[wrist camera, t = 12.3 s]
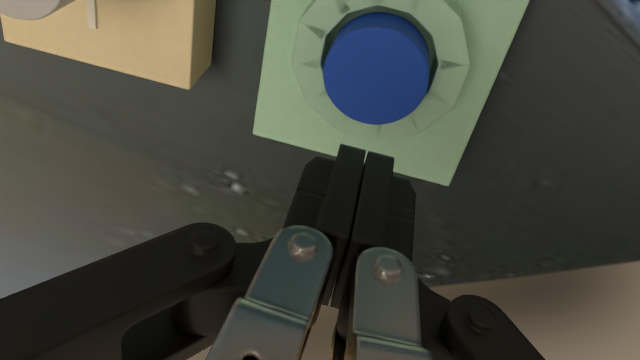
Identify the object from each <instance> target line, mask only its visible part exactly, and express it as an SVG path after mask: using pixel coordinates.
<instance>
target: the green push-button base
mask: <svg viewBox="0 0 640 360" xmlns="http://www.w3.org/2000/svg"><path fill="white" fill-rule="evenodd" d="M529 1H530V0H271V6H270V13H269V20H268V27H267V34H266V41H265V48H264V55H263V63H262V70H261V77H260V84H259V91H258V98H257V105H256V112H255V120H254V127H253V134H254V135H257V136H261V137H265V138H269V139H272V140H276V141H280V142H284V143H287V144H291V145H295V146H299V147H302V148H306V149H310V150H314V151H317V152H321V153H325V154H329V155H332V156H336V157H337V154H338V150H339V147H340V143H341V144H345V145H348V146H352V147H356V148H360V149H364V150H366V154H365V159H366V156H367V153H368V151H372V152H375V153H379V154H383V155H387V156H391V157H394V168H393V172H396V173H400V174H404V175H408V176H411V177H415V178H419V179H423V180H426V181H430V182H434V183H438V184H441V185H445V186H449V184H450V182H451V180H452V178H453V175H454V173H455V171H456V168H457V166H458V164H459V162H460V159H461V157H462V155H463V152H464V150H465V148H466V145H467V143H468V141H469V139H470V136H471V134H472V132H473V129H474V127H475V125H476V123H477V120H478V118H479V116H480V113H481V111H482V109H483V107H484V104H485V102H486V100H487V97H488V95H489V93H490V90H491V88H492V86H493V84H494V81H495V79H496V77H497V74H498V72H499V70H500V68H501V65H502V63H503V61H504V58H505V56H506V54H507V51H508V49H509V47H510V45H511V42H512V40H513V38H514V35H515V33H516V31H517V29H518V26H519V24H520V22H521V19H522V17H523V15H524V13H525V10H526V8H527V6H528V3H529ZM371 12H387V13H392V14H395V15H398V16H401V17H403V18H405V19H406V20H408V21H409V22H411V23H412V24H413V25H414V26H415V27H416V28H417V29H418V30H419V31H420V32H421V34H422V35H423V37H424V39H425V41H426V43H427V46H428V50H429V60H430V63H429V83H428V88H427V92H426V94H425V96H424V98H423V100H422V101H421V103H420V104H419V105H418V107H417V108H416V109H415V110H414V111H413V112H412V113H410V114H409V115H407V116H406V117H404V118H402V119H400V120H398V121H395V122H392V123H389V124H382V125H373V124H366V123H361V122H358V121H356V120H353V119H351V118H349V117H348V116H346V115H345V114H343V113H342V112H341V111H340V110H339V109H338V108H337V107H336V106H335V105H334V104H333V103H332V101H331V100H330V98H329V96H328V94H327V92H326V89H325V86H324V80H323V68H324V63H325V60H326V57H327V55H328V52H329V50H330V48H331V45H332V43H333V41H334V38H335V37H336V35H337V33H338V32H339V31H340V29H341V28H342V27H343V26H344V25H345V24H346V23H348V22H349V21H351V20H352V19H354V18H356V17H358V16H360V15H363V14H366V13H371ZM365 159H364V163H365Z"/></svg>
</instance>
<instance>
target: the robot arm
mask: <svg viewBox="0 0 640 360" xmlns="http://www.w3.org/2000/svg"><path fill="white" fill-rule="evenodd" d="M365 154H366V150H364V149H360V148H356V147H352V146H348V145H345V144H341V143H340V147H339V150H338V154H337V158H336V161H333V160H329V159H325V158H322V157H318V156H317V157H315V158H314V159H313V160H311V161H310V162H309V163H308V164H306V165H305V168H304V170H303V173H302V176H301V179H300V182H299V184H298V187H297V190H296V193H295V196H294V198H293V201H292V204H291V207H290V210H289V212H288V215H287V218H286V221H285V223H284V226H283V228H282V229H281V230H280V231H278V232H277V233H276V234H275V236H274V237H273V238H271V239H269V240H266V241H263V242H258V243H236V242H235V239H234V237H233V236H232V235H231V233H230V232H228V231H227V230H226V229H224V228H223V227H221V226H218V225H215V224H211V223H194V224H190V225H186V226H184V227H181V228H179V229H176V230H174V231H171V232H169V233H166V234H164V235H161V236H159V237H156V238H154V239H151V240H148V241H146V242H143V243H141V244H138V245H136V246H133V247H131V248H128V249H126V250H123V251H121V252H118V253H116V254H113V255H110V256H108V257H105V258H103V259H100V260H98V261H95V262H93V263H90V264H88V265H85V266H83V267H80V268H78V269H75V270H72V271H70V272H67V273H65V274H62V275H60V276H57V277H55V278H52V279H50V280H47V281H45V282H42V283H40V284H37V285H34V286H32V287H29V288H27V289H24V290H22V291H19V292H17V293H14V294H12V295H9V296H7V297H4V298H2V299H0V360H186V359H188V358H190V357H192V356H194V355H195V354H197V353H199V352H201V351H202V350H204V349H206V348H208V347H209V346H211V345H212V347H211V349H210V351H209V353H208V355H207V357H206V359H205V360H301V358H302V355H303V352H304V349H305V346H306V343H307V340H308V337H309V334H310V331H311V328H312V326H313V325H314V324H315V322H316V320H317V317H318V314H319V310H320V307H321V304H322V305H326V306H327V305H328V302H329V299H330V296H331V293H332V290H333V287H334V291H333V296H332V300H331V305H330V306H331V307H335V308H338V309H339V313H338V319H337V322H336V326H335V328H334V331H333V335H332V342H331V351H330V360H545V359H544V358H543V357H542V355H541V354H540V353H539V352H538V351H537V350H536V349H535V348H534V346H533V345H532V344H531V343H530V342H529V341H528V339H527V338H526V337H525V336H524V335H523V334H522V333H521V331H520V330H519V329H518V328H517V327H516V326H515V325H514V323H513V322H512V321H511V320H510V319H509V318H508V317H507V315H506V314H505V313H504V312H503V311H502V310H501V309H500V308H499V307H498V306H496V305H495V304H494V303H492V302H491V301H489V300H487V299H485V298H482V297H479V296H475V295H462V296H459V297H457V298H455V299H454V300H452V302H451V301H450V300H448V299H446V298H444V297H442V296H441V295H439V294H437V293H435V292H434V291H432V290H430V289H429V288H428V287H427V286H425V285H424V284H423V283H422V282H421V280H420V279H419V278H418V276H417V271H416V268H415V267H414V265H413V263H412V253H413V235H414V218H415V200H416V194H415V192H414V190H413V188H412V186H411V184H410V182H409V180H405V179H402V178H398V177H394V176H393V168H394V157H391V156H387V155H383V154H379V153H375V152H372V151H368V153H367V156H366V159H365ZM364 159H365V163H364ZM363 164H364V166H363ZM335 280H336V281H335ZM334 283H335V286H334Z"/></svg>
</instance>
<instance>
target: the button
mask: <svg viewBox="0 0 640 360" xmlns="http://www.w3.org/2000/svg"><path fill="white" fill-rule="evenodd" d="M429 63H430V60H429V50H428V46H427V43H426V41H425V39H424V37H423V35H422V34H421V32H420V31H419V30H418V29H417V28H416V27H415V26H414V25H413V24H412V23H411V22H409V21H408V20H406V19H405V18H403V17H401V16H398V15H395V14H392V13H387V12H371V13H366V14H363V15H360V16H358V17H356V18H354V19H352V20H351V21H349V22H348V23H346V24H345V25H344V26H343V27H342V28H341V29H340V31H339V32H338V33H337V35H336V37H335V38H334V41H333V43H332V45H331V48H330V50H329V52H328V55H327V57H326V60H325V63H324V68H323V80H324V86H325V89H326V92H327V94H328V96H329V98H330V100H331V101H332V103H333V104H334V105H335V106H336V107H337V108H338V109H339V110H340V111H341V112H342V113H343V114H345V115H346V116H348V117H349V118H351V119H353V120H356V121H358V122H361V123H366V124H373V125H382V124H389V123H392V122H395V121H398V120H400V119H402V118H404V117H406V116H407V115H409V114H410V113H412V112H413V111H414V110H415V109H416V108H417V107H418V105H419V104H420V103H421V101H422V100H423V98H424V96H425V94H426V92H427V88H428V83H429Z"/></svg>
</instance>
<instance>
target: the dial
mask: <svg viewBox="0 0 640 360" xmlns="http://www.w3.org/2000/svg"><path fill="white" fill-rule="evenodd" d="M74 1H76V0H0V13H2V14H4V15H6V16H9V17H12V18H15V19H20V20H38V19H42V18H44V17H47V16H49V15H50V14H52V13H54V12H56V11H58V10H59V9H61V8H63V7H65V6H67V5H68V4H70V3H72V2H74Z"/></svg>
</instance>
